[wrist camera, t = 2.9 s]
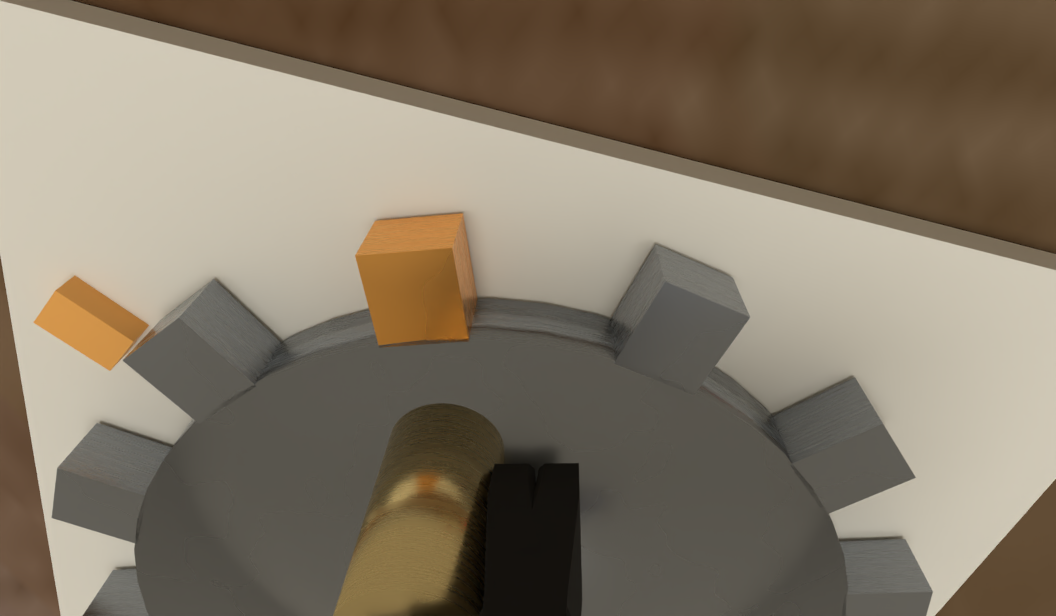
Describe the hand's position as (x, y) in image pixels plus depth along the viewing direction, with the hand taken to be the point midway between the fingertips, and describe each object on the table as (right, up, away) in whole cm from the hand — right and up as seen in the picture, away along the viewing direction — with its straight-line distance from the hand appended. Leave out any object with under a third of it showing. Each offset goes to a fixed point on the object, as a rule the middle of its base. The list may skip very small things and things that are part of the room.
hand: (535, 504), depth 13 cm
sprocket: (-1, -3, +5) cm, 6 cm away
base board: (-1, -3, +6) cm, 6 cm away
